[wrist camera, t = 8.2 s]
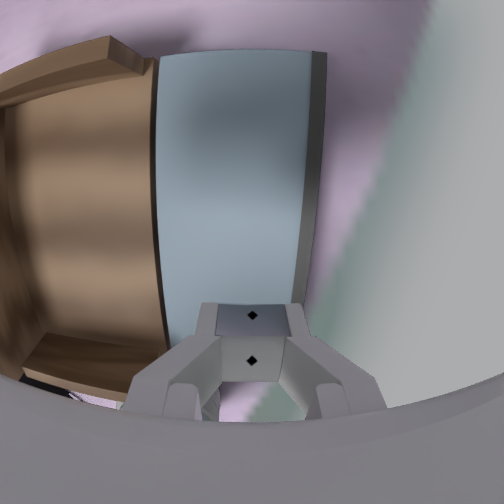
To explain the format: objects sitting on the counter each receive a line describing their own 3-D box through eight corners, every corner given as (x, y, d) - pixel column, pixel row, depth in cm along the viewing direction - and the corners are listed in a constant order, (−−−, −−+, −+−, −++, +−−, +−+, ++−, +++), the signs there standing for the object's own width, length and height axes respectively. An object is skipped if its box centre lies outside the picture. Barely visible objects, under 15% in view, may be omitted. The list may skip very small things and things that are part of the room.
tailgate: (159, 56, 13) (326, 52, 12) (169, 61, 14) (324, 59, 13) (172, 362, 22) (289, 382, 20) (178, 351, 23) (290, 368, 22)
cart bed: (19, 99, 15) (-77, 104, 5) (166, 67, 16) (91, 11, 6) (51, 321, 24) (-2, 393, 14) (175, 338, 24) (148, 441, 14)
